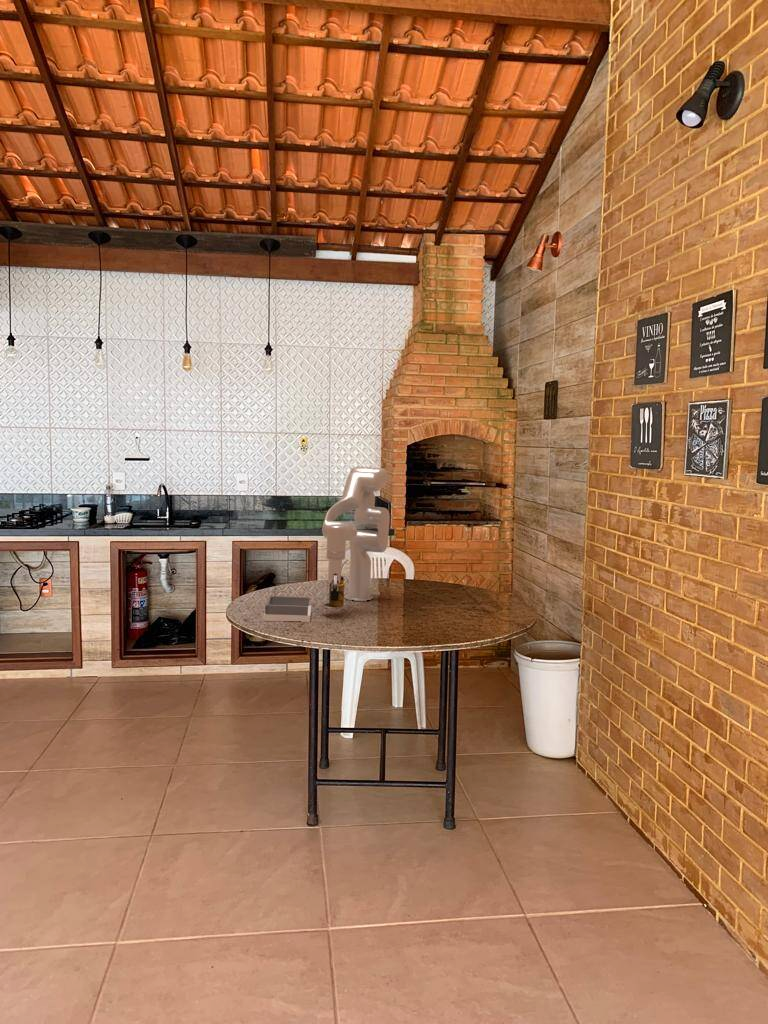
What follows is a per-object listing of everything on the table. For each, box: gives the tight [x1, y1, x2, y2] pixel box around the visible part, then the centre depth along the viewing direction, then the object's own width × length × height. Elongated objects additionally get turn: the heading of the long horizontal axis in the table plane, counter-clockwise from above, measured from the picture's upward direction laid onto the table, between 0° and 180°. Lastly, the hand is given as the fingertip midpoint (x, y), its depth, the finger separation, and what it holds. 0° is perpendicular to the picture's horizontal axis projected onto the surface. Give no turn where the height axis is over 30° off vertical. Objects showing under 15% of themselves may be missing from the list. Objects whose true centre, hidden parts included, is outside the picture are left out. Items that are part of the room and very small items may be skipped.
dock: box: [262, 595, 312, 623], centre depth 279 cm, size 18×18×6 cm
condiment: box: [321, 575, 348, 610], centre depth 282 cm, size 7×8×12 cm
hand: (334, 598), depth 283 cm, fingers closed on condiment, 6 cm apart
